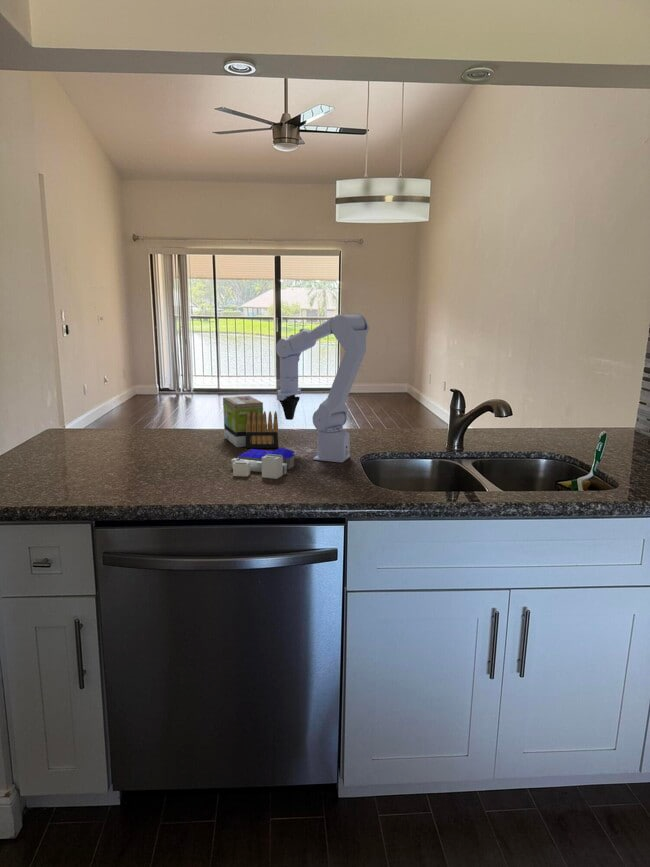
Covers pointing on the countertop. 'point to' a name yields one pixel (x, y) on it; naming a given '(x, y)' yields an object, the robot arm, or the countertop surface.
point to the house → (258, 454)
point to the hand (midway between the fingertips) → (289, 419)
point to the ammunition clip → (261, 431)
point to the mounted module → (272, 466)
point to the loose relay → (241, 468)
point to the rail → (257, 465)
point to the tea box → (239, 417)
